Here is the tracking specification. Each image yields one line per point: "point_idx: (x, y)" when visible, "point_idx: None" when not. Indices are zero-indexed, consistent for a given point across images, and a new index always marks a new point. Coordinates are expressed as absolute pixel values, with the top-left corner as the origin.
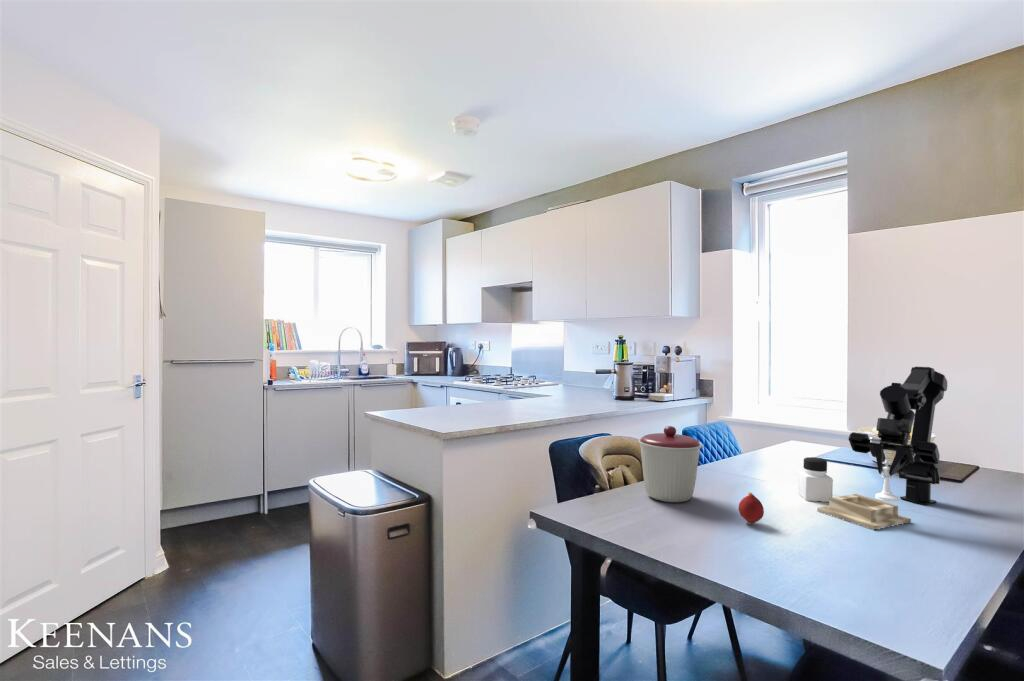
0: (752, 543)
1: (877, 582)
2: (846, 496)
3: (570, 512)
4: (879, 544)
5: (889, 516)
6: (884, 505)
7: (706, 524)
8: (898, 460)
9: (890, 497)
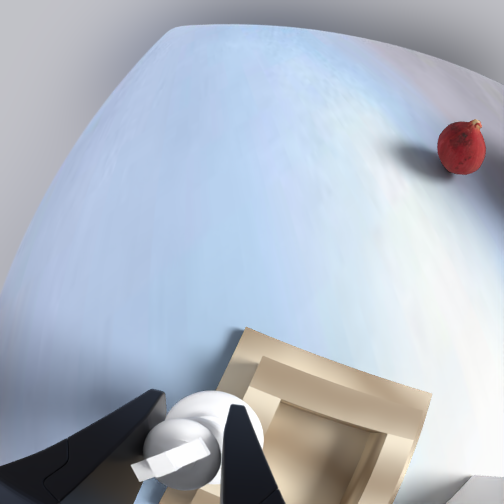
0: (385, 100)
1: (211, 80)
2: (381, 495)
3: None
4: (219, 217)
5: None
6: None
7: None
8: (50, 449)
9: (189, 402)
